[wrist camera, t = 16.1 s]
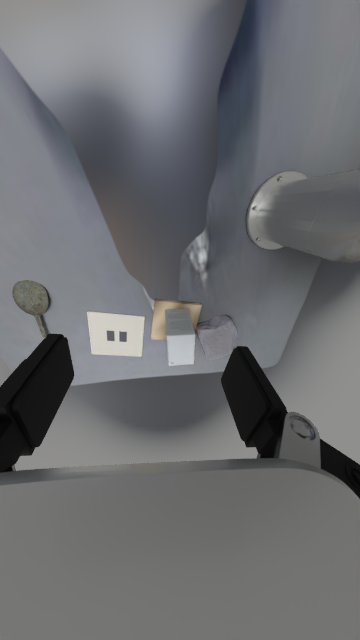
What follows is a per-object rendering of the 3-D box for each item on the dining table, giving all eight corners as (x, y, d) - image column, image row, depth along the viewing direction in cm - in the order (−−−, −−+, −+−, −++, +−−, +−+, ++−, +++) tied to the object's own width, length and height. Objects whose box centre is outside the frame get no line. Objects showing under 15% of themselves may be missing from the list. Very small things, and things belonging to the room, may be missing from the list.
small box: (187, 334, 47) (194, 365, 38) (166, 336, 46) (167, 367, 37) (188, 307, 42) (196, 334, 34) (164, 308, 42) (166, 336, 33)
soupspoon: (48, 278, 38) (14, 276, 37) (38, 283, 35) (1, 281, 34) (69, 358, 49) (43, 357, 48) (63, 367, 46) (35, 366, 45)
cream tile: (144, 316, 44) (144, 316, 43) (141, 356, 50) (141, 356, 50) (87, 311, 41) (86, 311, 41) (92, 353, 48) (91, 354, 48)
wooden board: (201, 303, 43) (201, 305, 42) (191, 339, 49) (192, 341, 48) (155, 298, 41) (154, 300, 41) (151, 336, 47) (150, 339, 46)
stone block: (225, 308, 47) (191, 325, 46) (235, 316, 43) (198, 335, 42) (233, 339, 54) (203, 355, 53) (242, 349, 50) (210, 366, 49)
